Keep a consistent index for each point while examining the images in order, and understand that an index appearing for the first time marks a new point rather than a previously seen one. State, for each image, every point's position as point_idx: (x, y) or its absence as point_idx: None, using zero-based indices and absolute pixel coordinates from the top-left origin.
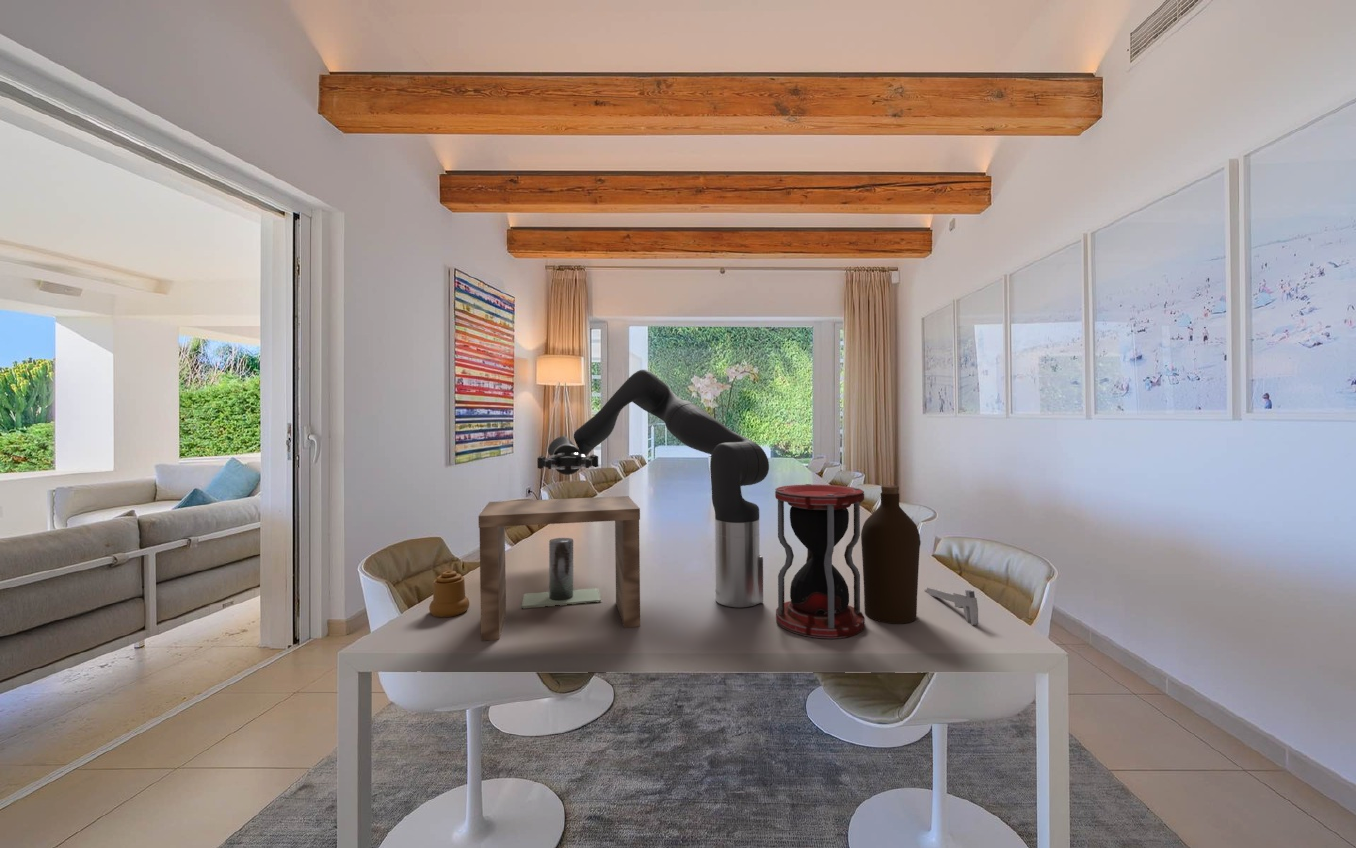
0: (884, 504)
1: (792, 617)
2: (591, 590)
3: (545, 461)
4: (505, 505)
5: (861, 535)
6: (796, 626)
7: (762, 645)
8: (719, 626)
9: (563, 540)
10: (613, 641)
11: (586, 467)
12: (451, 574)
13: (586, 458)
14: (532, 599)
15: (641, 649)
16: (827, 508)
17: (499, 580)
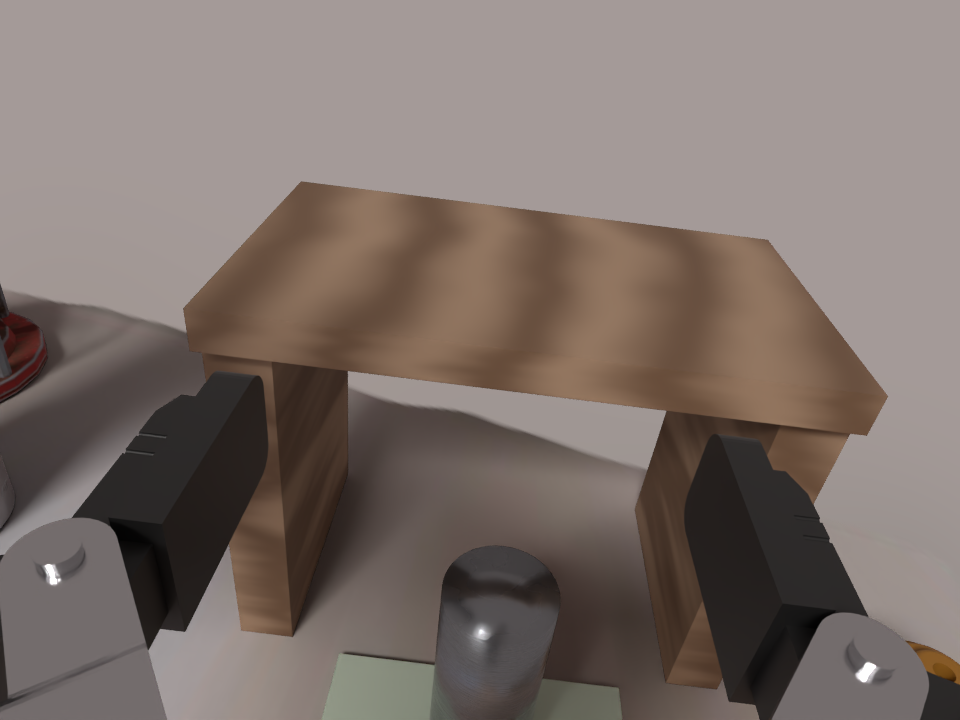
0: None
1: (9, 355)
2: None
3: (793, 480)
4: (757, 316)
5: None
6: (43, 339)
7: (146, 347)
8: (144, 418)
9: (491, 588)
10: (393, 431)
11: (262, 455)
12: (917, 651)
13: (228, 397)
14: None
15: (355, 394)
16: None
17: (673, 425)
